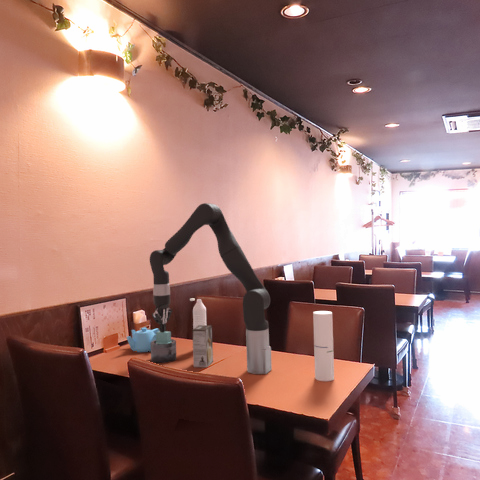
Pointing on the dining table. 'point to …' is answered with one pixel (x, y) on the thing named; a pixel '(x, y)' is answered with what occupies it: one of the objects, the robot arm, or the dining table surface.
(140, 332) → the teapot
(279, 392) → the dining table surface
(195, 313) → the water bottle
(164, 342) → the teal short cylinder
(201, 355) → the coffee box
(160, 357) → the dark grey canister
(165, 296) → the robot arm
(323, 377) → the cylindrical container
